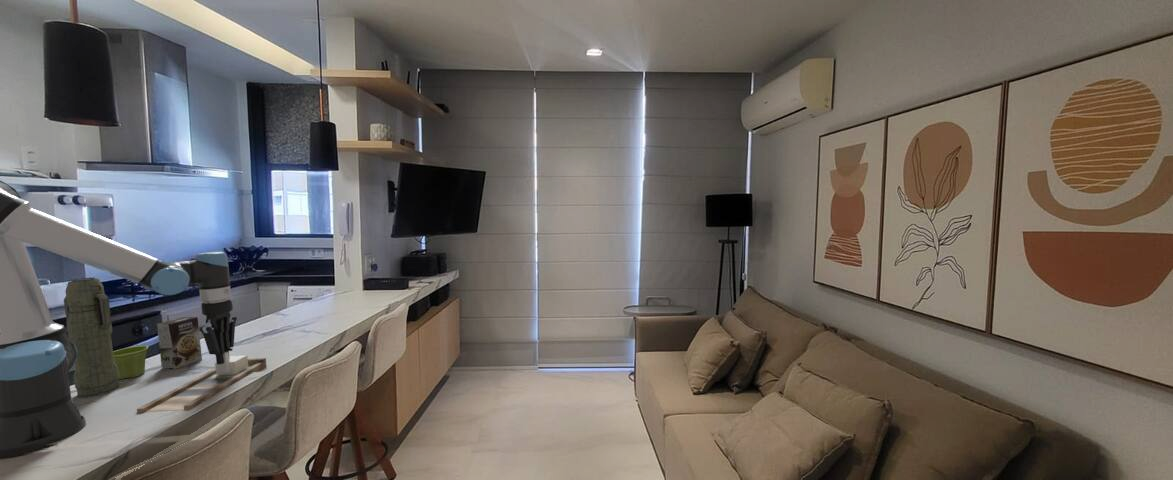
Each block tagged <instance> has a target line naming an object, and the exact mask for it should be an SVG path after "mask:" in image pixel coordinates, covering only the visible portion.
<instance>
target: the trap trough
mask: <svg viewBox="0 0 1173 480" xmlns="http://www.w3.org/2000/svg"><path fill="white" fill-rule="evenodd" d="M247 359H248V368H246V369H245V370H243V371H241V372H239V373H238V374H233V375H217V376H216V369H215V368H213V369H211V370H209V371H207V372H205V373H203V374H201V375H199V376H197V377H196V378H194V379H192V380H190V381H187V382H186V383H184V384H183V385H180V386H178V387H176V388H174V389H172V390H170V391H169V392H167V393H165V394H163V395H161V396H159V397H157V398H155V399H153V400H152V401H150V402H147V403H146V404H144V405H141V406H139V407H138V408H137V409H136V413H137V414H138V413H139V414H140V413H141V414H142V413H153V412H166V411H167V412H168V411H181V410H182V411H183V410H192V409H193V408H195V407H197V406H198V405H200V404H202V403H203V402H205V401H206V400H208V399H210V398H211V397H213V396H215V395H216V394H218V393H220V392H221V391H223V390H225V389H227V388H228V387H230V386H231V385H233V384H235V383H236V382H238V381H240V380H241V379H243V378H245V377H246V376H248V375H250V374H252V373H257V372H260V371H261V370H263V369H264V368H266V367H267V366H268V365H267V358H266V357H260V358H247Z"/></svg>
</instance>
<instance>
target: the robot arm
mask: <svg viewBox="0 0 1173 480" xmlns="http://www.w3.org/2000/svg"><path fill="white" fill-rule="evenodd" d="M25 243H26V244H28V245H31V246H34V247H37V248H40V249H43V250H46V251H48V252H51V253H54V254H56V255H59V256H61V257H64V258H66V259H67V258H68V259H70V260H73V261H75V262H79V263H81V264H83V265H87V266H89V267H91V268H92V267H93V268H95V269H97V270H100V271H103V272H106V273H109V274H111V275H114V276H117V277H121V278H122V279H125V280H129V282H130V281H131V282H134V283H137V284H139V285H142V286H143V287H144V289H146V290H147V291H149V290H151V291H152V290H154V291H155V292H156V293H158V294H161V295H166V296H173V295H177V294H180V293H181V292H183V291H185V290H186V289H187V288H188V286H194V285H198V289H199V298H200V302H202V303H201V304H200V307H201V314H202V315H203V316H206V317H205V318H206V319H205V325H204V326H202V327H199V332H200V333H201V334H202V335H203V338H204V341H205V344H206V348H207V351H208V353H209V355H215V360H216V362H215V363H217V367H218V374H219V373H228V372H230V362H229V359H230V358H229V356H230V352H232V351H233V348H234V346H235V334H236V333H235V332H236V331H235V330H236V323H237V319H238V318H237V316H232V315H231V312H232V311H233V310H234V305H233V300H232V299H231V298H232V290H231V279H230V278H231V277H230V268H229V262H228V256H227V253H225V252H224V251H207V252H201V253H200V252H199V253H196V255H195V258H194V259H192V260H185V261H171V262H167V261H163V260H160V259H159V258H156V257H154V256H151V255H149V254H146V253H144V252H141V251H139V250H136V249H134V248H131V247H130V246H127V245H124V244H121V243H119V242H116V241H115V240H111V239H109V238H108V237H107V238H106V237H104V236H102V235H100V234H97V233H94V232H92V231H89V230H87V229H84V228H82V227H80V226H77V225H75V224H73V223H70V222H67V221H65V220H63V219H60V218H57V217H55V216H54V215H53V216H52V215H50V214H48V213H45V212H43V211H40V210H37V209H34V208H33V206H32V205H31V203H30V201H28V200H25V199H23V197H22V196H21V194H20V192H19V191H17V190H16V188H14V187H13V186H12V185H10V184H8V183H7V182H6V181H5V182H4V181H2V180H0V459H5V458H12V457H17V456H23V455H27V454H31V453H35V452H38V451H42V450H45V449H48V448H50V447H51V448H52V447H54V446H56V445H58V443H57V442H59V441H62V440H64V439H66V438H69V437H71V436H73V435H75V434H77V433H79V432H81V430H83V429H84V428H85V427H86V425H87V422H86V418H85V417H84V415H82V414H81V412H80V411H79V409H78V407H77V406H76V404H75V403H74V401H73V400H72V394H71V393H72V392H71V386H70V385H71V384H70V379H69V372H70V370H71V369H72V367H73V366H75V361H76V358H77V349H76V346H75V345H74V344H73V342H72V341H70V339H69V337H68V331H66V327H65V325H64V324H60V323H57V322H55V321H54V320H53V317H52V315H51V312H50V309H49V306H48V303H47V302H46V298H45V296H44V293H43V290H42V287H41V285H40V282H39V279H38V277H37V275H36V274H37V273H36V271H35V269H34V266H33V264H32V261H31V258H30V255H29V252H28V249H27V247H26V245H25ZM54 443H57V444H54Z"/></svg>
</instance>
